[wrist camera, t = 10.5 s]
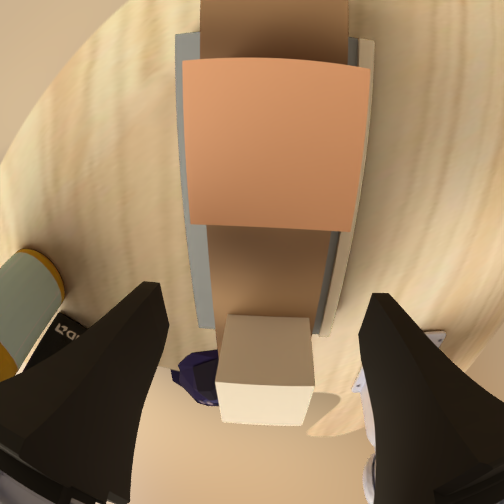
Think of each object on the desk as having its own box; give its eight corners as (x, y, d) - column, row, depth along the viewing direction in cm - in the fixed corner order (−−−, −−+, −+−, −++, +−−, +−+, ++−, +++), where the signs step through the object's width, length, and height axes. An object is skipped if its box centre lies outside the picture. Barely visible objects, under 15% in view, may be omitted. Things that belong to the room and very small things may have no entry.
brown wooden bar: (295, 341, 23) (297, 395, 18) (231, 338, 23) (222, 391, 19) (325, 16, 11) (348, -12, 7) (223, 12, 11) (201, -16, 7)
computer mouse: (151, 368, 31) (142, 397, 27) (244, 311, 24) (239, 348, 21) (213, 404, 34) (208, 431, 30) (311, 361, 28) (313, 395, 24)
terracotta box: (326, 180, 11) (350, 231, 7) (218, 175, 11) (190, 224, 7) (334, 73, 8) (370, 68, 5) (216, 67, 9) (182, 60, 5)
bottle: (76, 306, 26) (6, 429, 13) (31, 297, 26) (-37, 399, 13) (54, 246, 22) (-48, 374, 9) (9, 243, 22) (-81, 346, 10)
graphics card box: (59, 305, 26) (-47, 523, 3) (113, 338, 28) (30, 571, 5) (53, 368, 34) (-9, 515, 11) (91, 391, 36) (39, 543, 13)
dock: (325, 316, 24) (329, 337, 22) (203, 310, 24) (198, 330, 22) (362, 45, 13) (374, 40, 11) (185, 39, 13) (173, 33, 11)
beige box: (299, 365, 16) (301, 425, 13) (231, 362, 17) (222, 421, 13) (309, 317, 14) (315, 386, 11) (227, 314, 14) (214, 381, 11)
